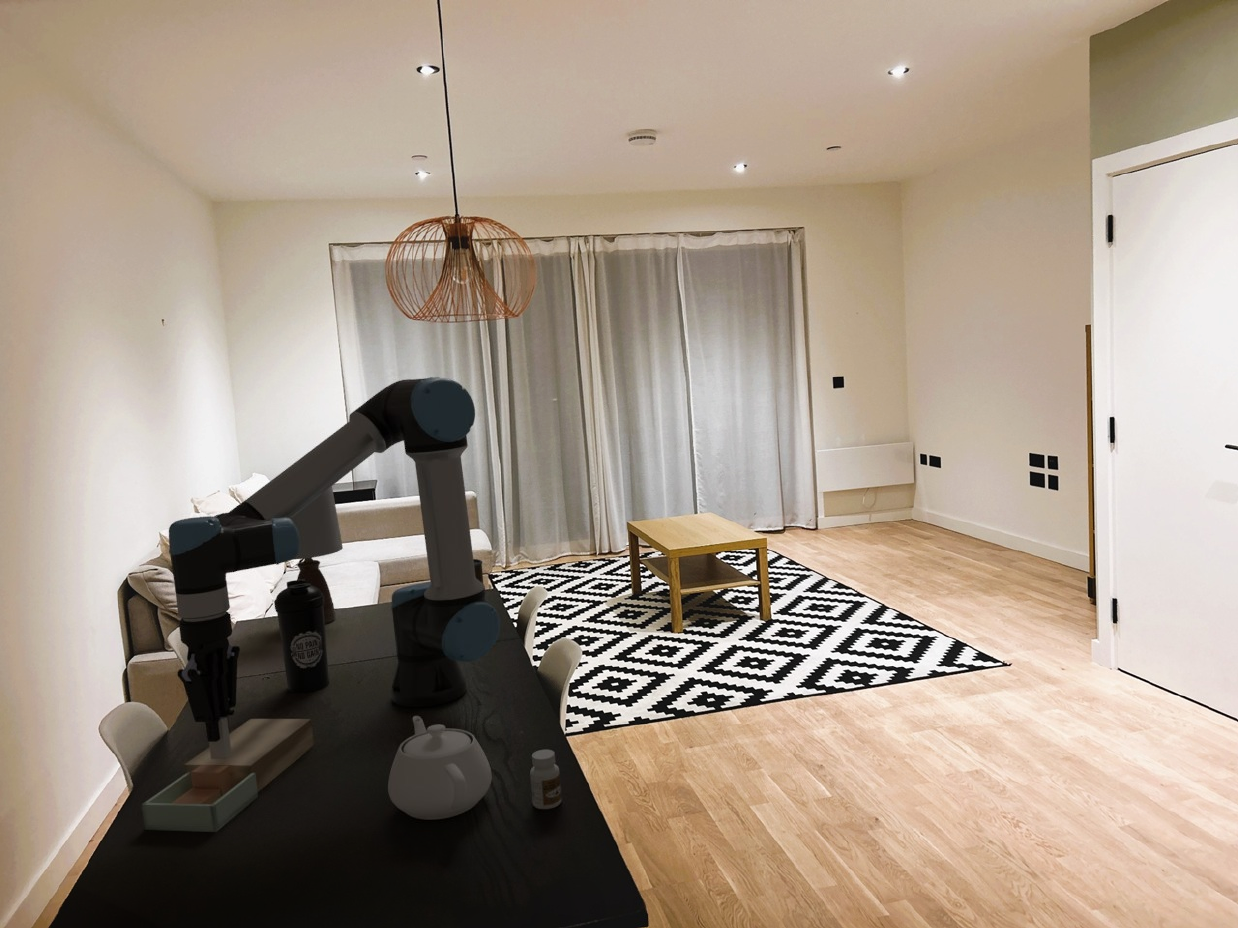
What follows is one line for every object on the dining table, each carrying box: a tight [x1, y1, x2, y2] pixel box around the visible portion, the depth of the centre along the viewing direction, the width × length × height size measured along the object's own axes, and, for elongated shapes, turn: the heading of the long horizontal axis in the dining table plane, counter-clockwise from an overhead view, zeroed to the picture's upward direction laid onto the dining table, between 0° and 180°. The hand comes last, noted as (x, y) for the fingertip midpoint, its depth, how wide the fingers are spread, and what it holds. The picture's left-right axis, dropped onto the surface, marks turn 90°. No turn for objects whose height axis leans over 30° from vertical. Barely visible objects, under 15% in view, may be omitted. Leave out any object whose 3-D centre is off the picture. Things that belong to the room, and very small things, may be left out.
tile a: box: [191, 765, 232, 797], centre depth 145 cm, size 5×5×2 cm
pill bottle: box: [529, 749, 562, 810], centre depth 137 cm, size 4×4×8 cm
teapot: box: [387, 715, 492, 821], centre depth 140 cm, size 25×16×12 cm, turn 27°
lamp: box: [290, 485, 344, 625], centre depth 251 cm, size 19×19×37 cm
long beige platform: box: [183, 718, 315, 793], centre depth 157 cm, size 12×19×5 cm, turn 170°
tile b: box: [172, 788, 221, 804], centre depth 141 cm, size 5×5×2 cm
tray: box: [141, 772, 259, 833], centre depth 142 cm, size 12×11×4 cm
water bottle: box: [274, 579, 330, 694], centre depth 198 cm, size 10×10×23 cm
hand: (221, 757), depth 147 cm, fingers closed
